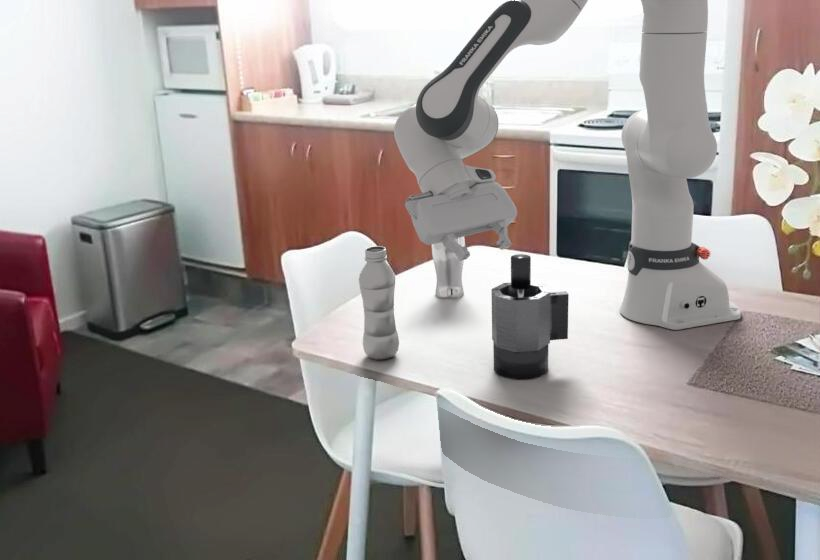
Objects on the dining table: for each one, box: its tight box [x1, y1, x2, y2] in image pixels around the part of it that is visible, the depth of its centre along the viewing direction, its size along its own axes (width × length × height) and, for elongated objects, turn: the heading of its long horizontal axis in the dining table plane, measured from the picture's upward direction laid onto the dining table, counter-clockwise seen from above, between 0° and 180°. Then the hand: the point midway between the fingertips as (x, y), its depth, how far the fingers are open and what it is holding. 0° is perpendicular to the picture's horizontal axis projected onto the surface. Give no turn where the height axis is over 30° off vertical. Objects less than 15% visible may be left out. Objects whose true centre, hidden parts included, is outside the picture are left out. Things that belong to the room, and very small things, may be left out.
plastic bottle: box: [358, 245, 400, 360], centre depth 150 cm, size 6×7×20 cm
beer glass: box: [431, 236, 466, 300], centre depth 180 cm, size 7×7×15 cm
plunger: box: [510, 253, 532, 298], centre depth 141 cm, size 5×5×14 cm
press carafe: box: [491, 281, 569, 381], centre depth 143 cm, size 12×9×14 cm
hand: (486, 252), depth 146 cm, fingers open, 8 cm apart
